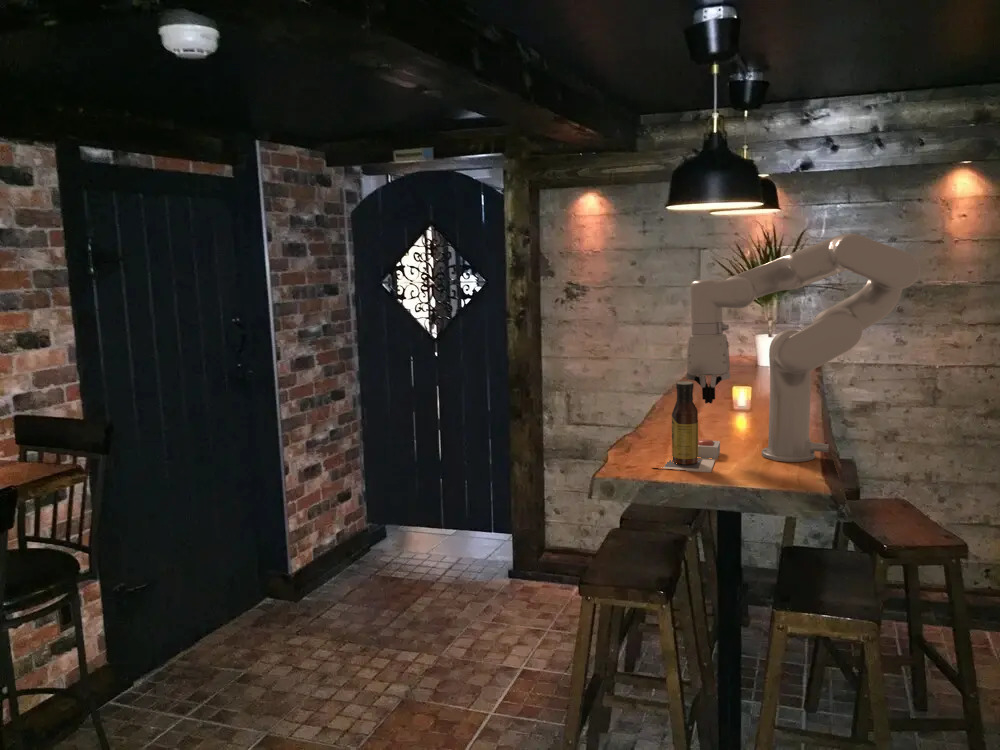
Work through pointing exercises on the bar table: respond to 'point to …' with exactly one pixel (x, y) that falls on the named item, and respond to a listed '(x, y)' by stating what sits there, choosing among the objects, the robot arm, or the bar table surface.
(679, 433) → the sauce bottle
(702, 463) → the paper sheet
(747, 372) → the bar table surface
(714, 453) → the button housing
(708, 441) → the button
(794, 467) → the bar table surface
